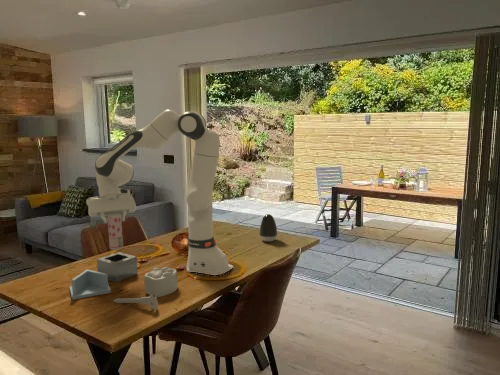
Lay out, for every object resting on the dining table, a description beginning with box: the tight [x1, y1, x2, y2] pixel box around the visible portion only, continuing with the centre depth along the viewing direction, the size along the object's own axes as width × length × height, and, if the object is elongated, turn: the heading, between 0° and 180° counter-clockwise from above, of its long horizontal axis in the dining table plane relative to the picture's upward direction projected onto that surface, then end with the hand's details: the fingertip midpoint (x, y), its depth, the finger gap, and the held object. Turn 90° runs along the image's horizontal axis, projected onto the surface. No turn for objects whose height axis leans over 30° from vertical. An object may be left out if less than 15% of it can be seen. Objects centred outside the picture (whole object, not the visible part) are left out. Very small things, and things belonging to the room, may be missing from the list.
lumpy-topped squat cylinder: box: [143, 266, 178, 298], centre depth 174 cm, size 10×13×9 cm
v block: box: [69, 269, 112, 301], centre depth 173 cm, size 12×14×7 cm
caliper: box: [112, 294, 159, 311], centre depth 160 cm, size 20×1×6 cm, turn 66°
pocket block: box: [96, 251, 138, 283], centre depth 191 cm, size 12×12×8 cm
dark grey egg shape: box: [258, 214, 278, 243], centre depth 241 cm, size 10×10×15 cm
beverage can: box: [107, 214, 124, 251], centre depth 188 cm, size 6×6×15 cm
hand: (115, 221), depth 187 cm, fingers closed on beverage can, 6 cm apart
